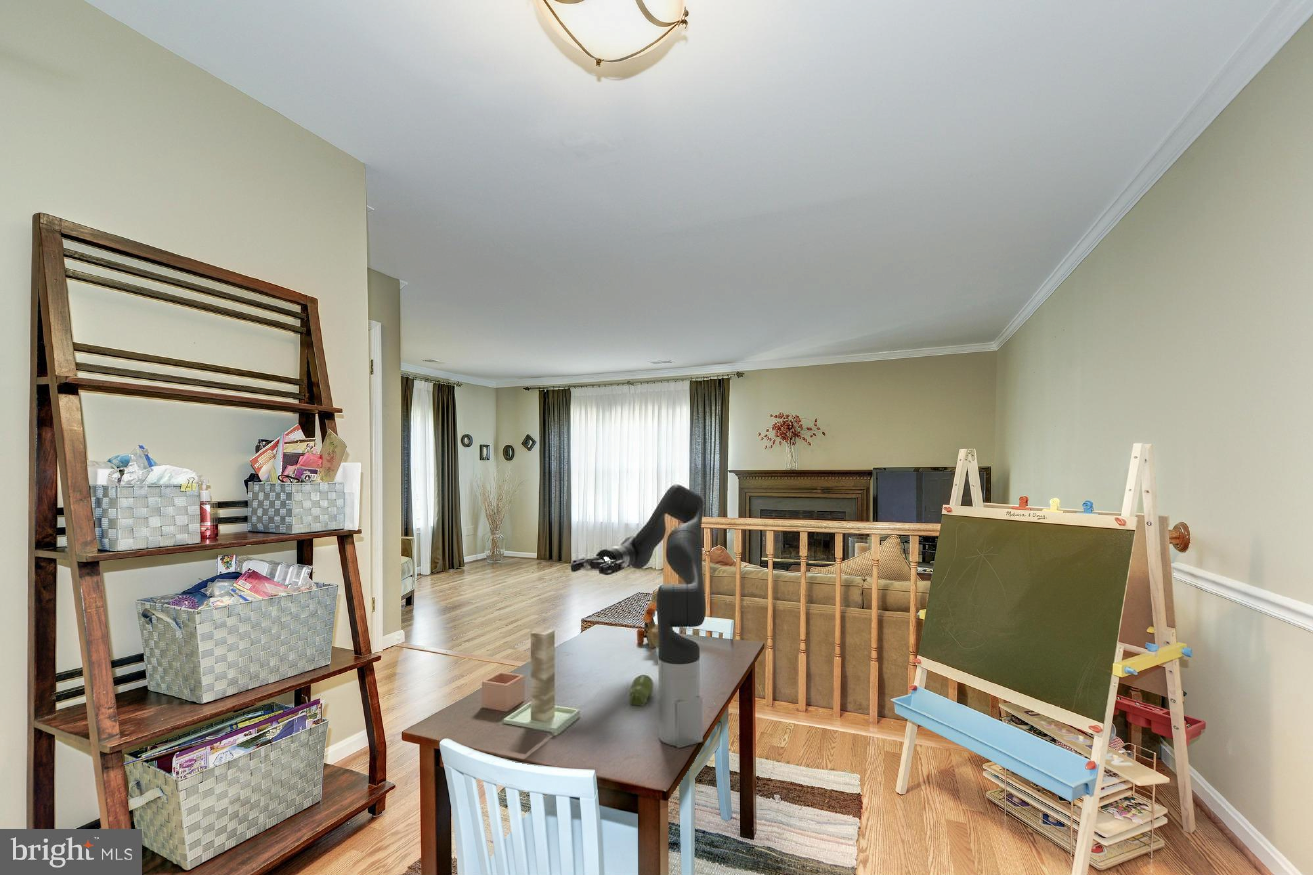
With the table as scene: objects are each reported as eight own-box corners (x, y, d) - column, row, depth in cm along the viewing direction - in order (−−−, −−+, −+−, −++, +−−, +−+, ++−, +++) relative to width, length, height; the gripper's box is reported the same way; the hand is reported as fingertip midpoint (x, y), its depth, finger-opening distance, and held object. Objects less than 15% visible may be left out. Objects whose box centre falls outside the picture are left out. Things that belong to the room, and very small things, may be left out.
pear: (655, 672, 157) (646, 692, 147) (656, 691, 157) (647, 712, 148) (635, 670, 158) (624, 690, 148) (636, 689, 159) (625, 710, 149)
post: (554, 715, 141) (554, 630, 142) (545, 722, 138) (545, 634, 139) (540, 712, 143) (540, 628, 144) (530, 719, 139) (530, 632, 140)
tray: (580, 716, 143) (580, 709, 143) (555, 735, 132) (555, 728, 132) (530, 708, 148) (530, 701, 148) (503, 726, 138) (503, 719, 138)
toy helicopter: (659, 639, 205) (659, 598, 206) (671, 658, 185) (670, 613, 186) (636, 640, 204) (635, 600, 205) (645, 660, 184) (644, 614, 184)
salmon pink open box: (524, 703, 151) (524, 675, 151) (506, 714, 144) (506, 685, 144) (500, 699, 154) (500, 671, 154) (481, 710, 147) (481, 681, 147)
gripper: (591, 546, 179) (563, 553, 164) (634, 548, 174) (609, 556, 159) (591, 571, 179) (563, 581, 164) (634, 574, 174) (609, 584, 159)
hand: (586, 568), depth 162 cm, fingers open, 8 cm apart
